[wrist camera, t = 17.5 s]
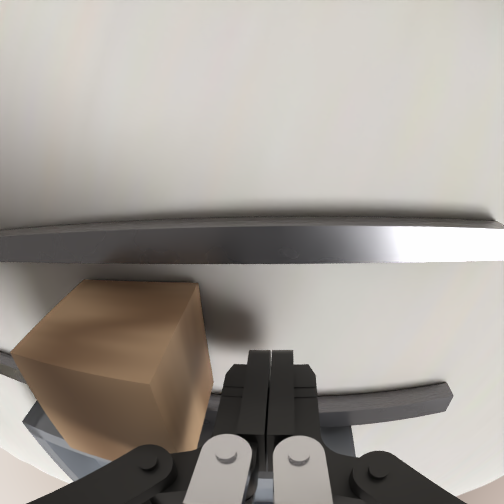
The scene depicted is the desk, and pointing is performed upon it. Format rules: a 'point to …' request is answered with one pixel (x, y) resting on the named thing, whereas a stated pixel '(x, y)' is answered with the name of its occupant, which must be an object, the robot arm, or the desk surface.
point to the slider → (121, 366)
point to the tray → (84, 464)
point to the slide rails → (272, 252)
